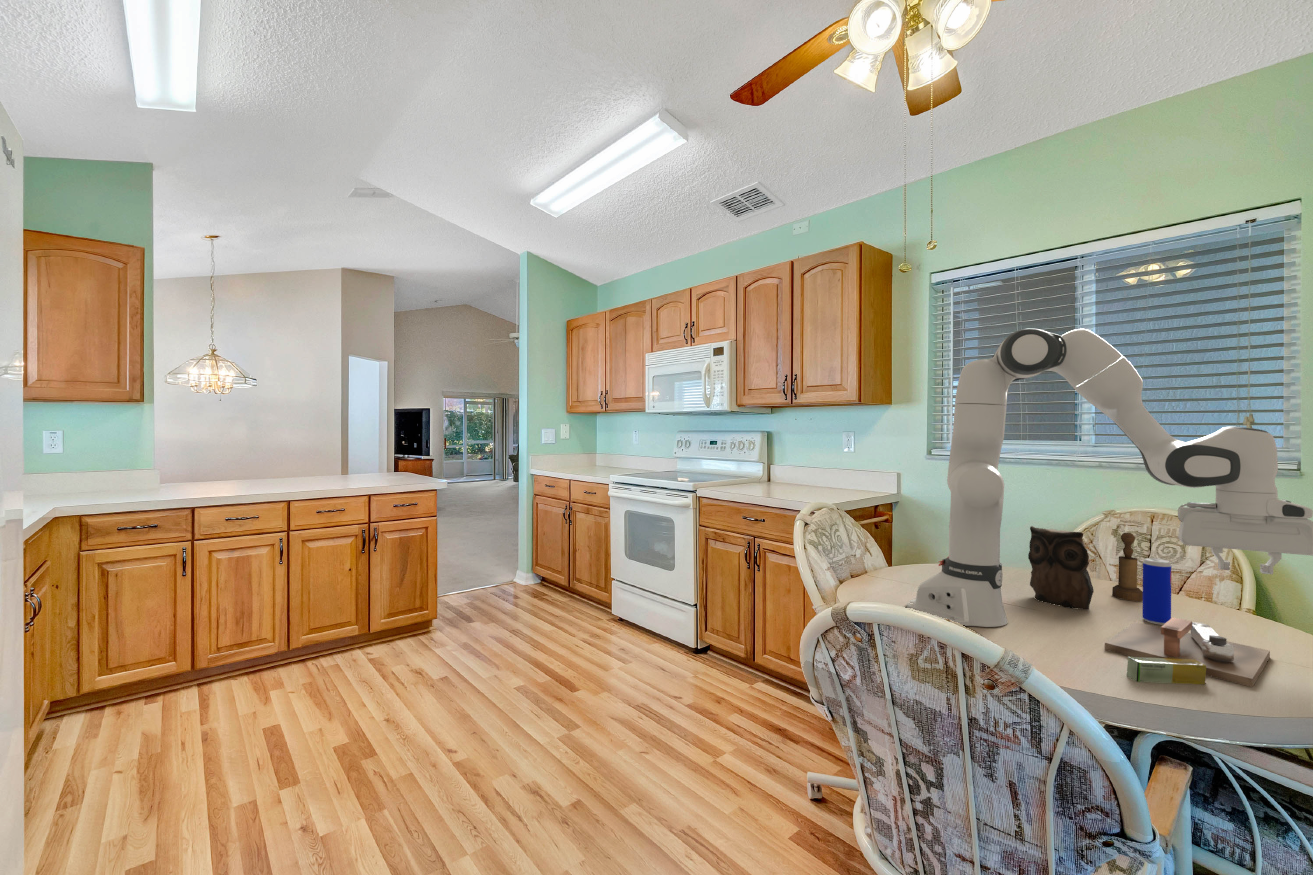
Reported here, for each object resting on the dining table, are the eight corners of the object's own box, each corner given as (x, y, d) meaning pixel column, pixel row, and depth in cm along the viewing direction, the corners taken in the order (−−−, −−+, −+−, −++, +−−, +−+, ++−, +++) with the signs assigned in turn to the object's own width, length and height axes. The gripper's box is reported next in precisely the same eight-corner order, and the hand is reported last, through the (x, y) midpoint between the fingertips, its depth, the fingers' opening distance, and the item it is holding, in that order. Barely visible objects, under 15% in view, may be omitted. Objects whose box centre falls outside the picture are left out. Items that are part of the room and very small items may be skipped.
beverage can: (1176, 626, 132) (1177, 563, 132) (1151, 624, 133) (1151, 562, 133) (1161, 618, 137) (1162, 558, 137) (1137, 617, 138) (1137, 557, 138)
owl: (1095, 611, 143) (1096, 533, 142) (1037, 606, 147) (1038, 530, 147) (1077, 597, 155) (1077, 525, 154) (1024, 593, 159) (1024, 523, 159)
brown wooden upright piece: (1149, 601, 151) (1150, 535, 151) (1125, 601, 151) (1126, 535, 151) (1129, 594, 158) (1129, 530, 157) (1106, 594, 158) (1106, 530, 158)
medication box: (1136, 683, 103) (1136, 661, 103) (1125, 676, 106) (1125, 655, 106) (1207, 686, 102) (1207, 664, 102) (1194, 679, 105) (1194, 658, 105)
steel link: (1236, 663, 106) (1237, 650, 106) (1205, 658, 109) (1205, 645, 109) (1212, 635, 120) (1212, 624, 120) (1184, 631, 123) (1184, 620, 123)
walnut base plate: (1104, 649, 118) (1105, 617, 118) (1134, 627, 131) (1134, 599, 131) (1252, 687, 101) (1252, 649, 101) (1269, 657, 114) (1270, 624, 114)
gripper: (1181, 503, 119) (1180, 567, 119) (1325, 510, 107) (1324, 581, 108) (1174, 499, 124) (1174, 561, 124) (1311, 506, 113) (1310, 574, 113)
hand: (1244, 571), depth 116 cm, fingers open, 5 cm apart
